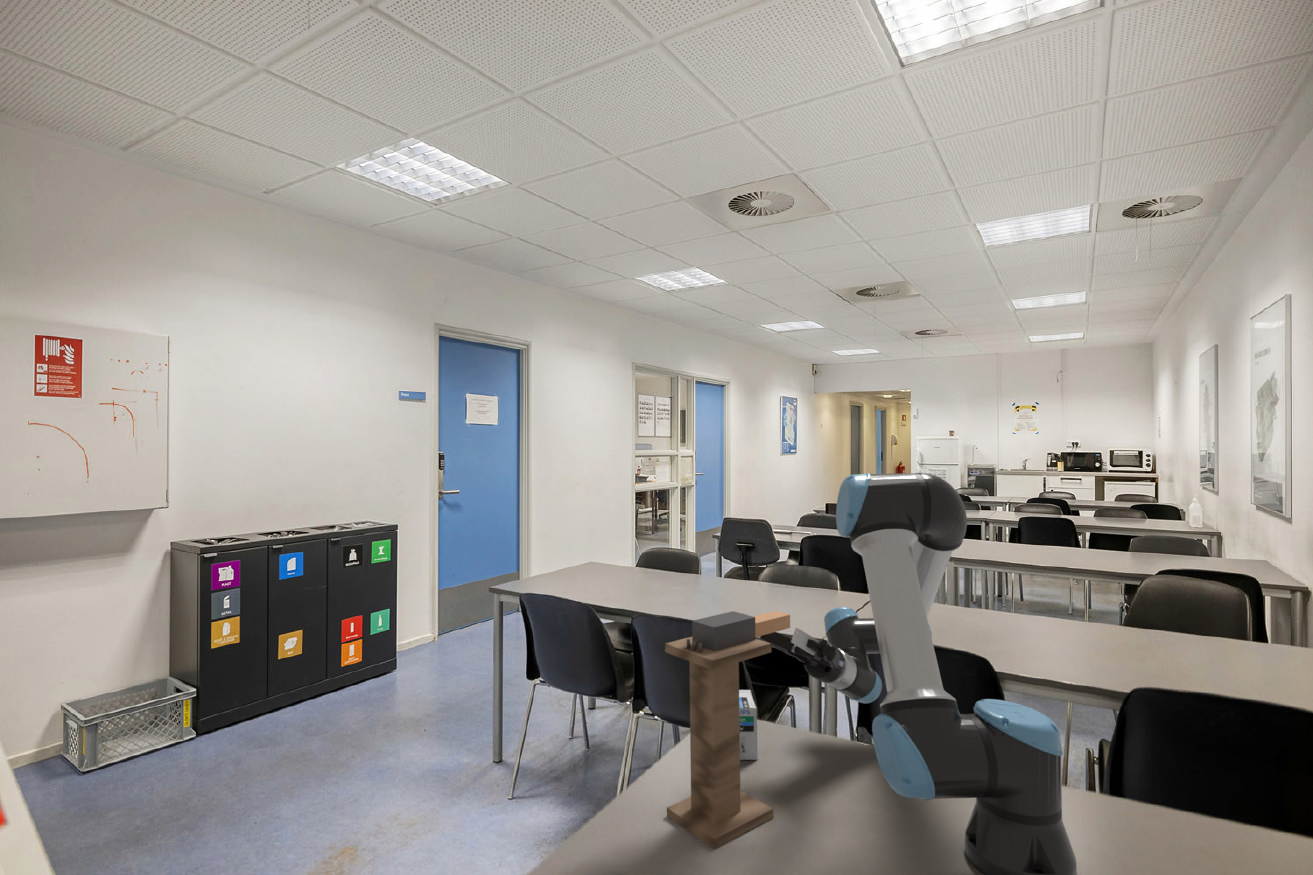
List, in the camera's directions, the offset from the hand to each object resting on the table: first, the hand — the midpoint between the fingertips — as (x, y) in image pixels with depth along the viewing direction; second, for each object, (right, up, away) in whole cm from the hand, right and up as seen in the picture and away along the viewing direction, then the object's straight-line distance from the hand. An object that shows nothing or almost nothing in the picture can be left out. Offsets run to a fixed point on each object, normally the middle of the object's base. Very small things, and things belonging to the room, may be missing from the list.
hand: (766, 627), depth 124 cm
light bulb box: (-3, -31, +17) cm, 35 cm away
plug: (-5, 0, -5) cm, 6 cm away
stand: (-10, -30, -9) cm, 33 cm away
